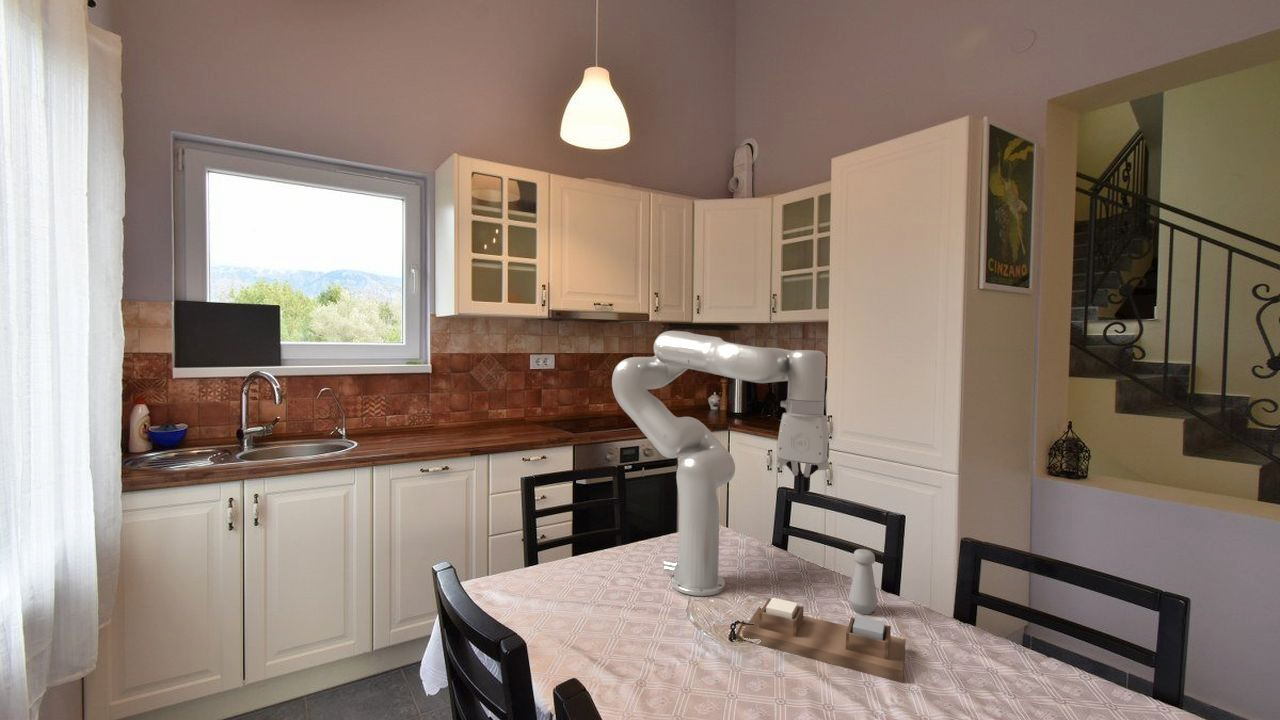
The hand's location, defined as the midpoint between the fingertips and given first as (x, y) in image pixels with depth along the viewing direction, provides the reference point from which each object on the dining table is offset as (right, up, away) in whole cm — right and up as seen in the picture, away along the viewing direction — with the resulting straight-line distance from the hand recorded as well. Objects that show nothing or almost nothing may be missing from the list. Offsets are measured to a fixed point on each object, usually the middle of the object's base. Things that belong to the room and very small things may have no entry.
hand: (801, 493), depth 121 cm
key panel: (+1, -26, -12) cm, 29 cm away
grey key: (+8, -23, -16) cm, 29 cm away
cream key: (-7, -22, -9) cm, 25 cm away
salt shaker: (+14, -26, +3) cm, 30 cm away
